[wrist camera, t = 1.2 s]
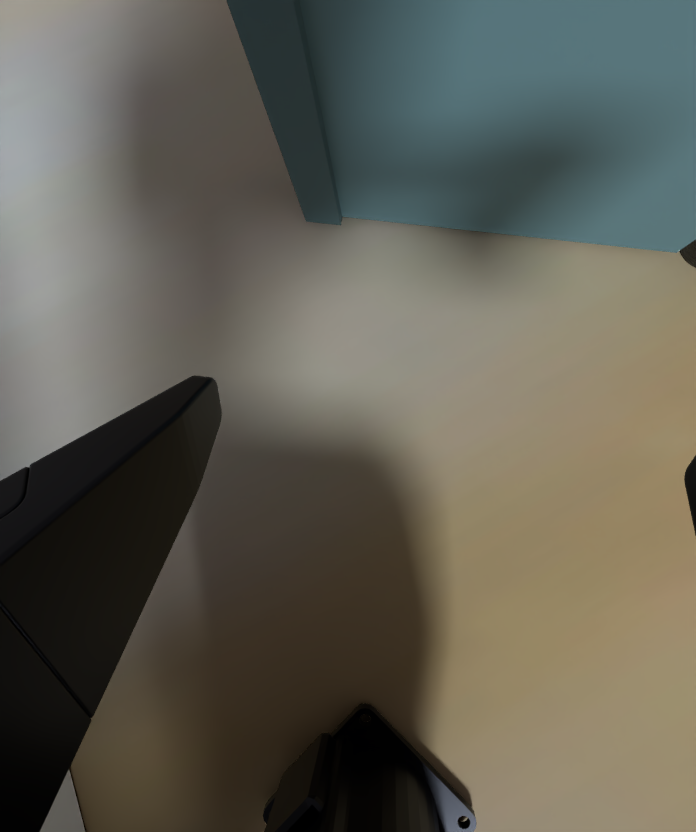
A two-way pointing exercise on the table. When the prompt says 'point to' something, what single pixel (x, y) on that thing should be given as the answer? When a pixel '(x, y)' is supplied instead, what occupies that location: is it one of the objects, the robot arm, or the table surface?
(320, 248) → the table surface
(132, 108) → the table surface
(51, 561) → the robot arm
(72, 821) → the block
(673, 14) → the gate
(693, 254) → the gate post
